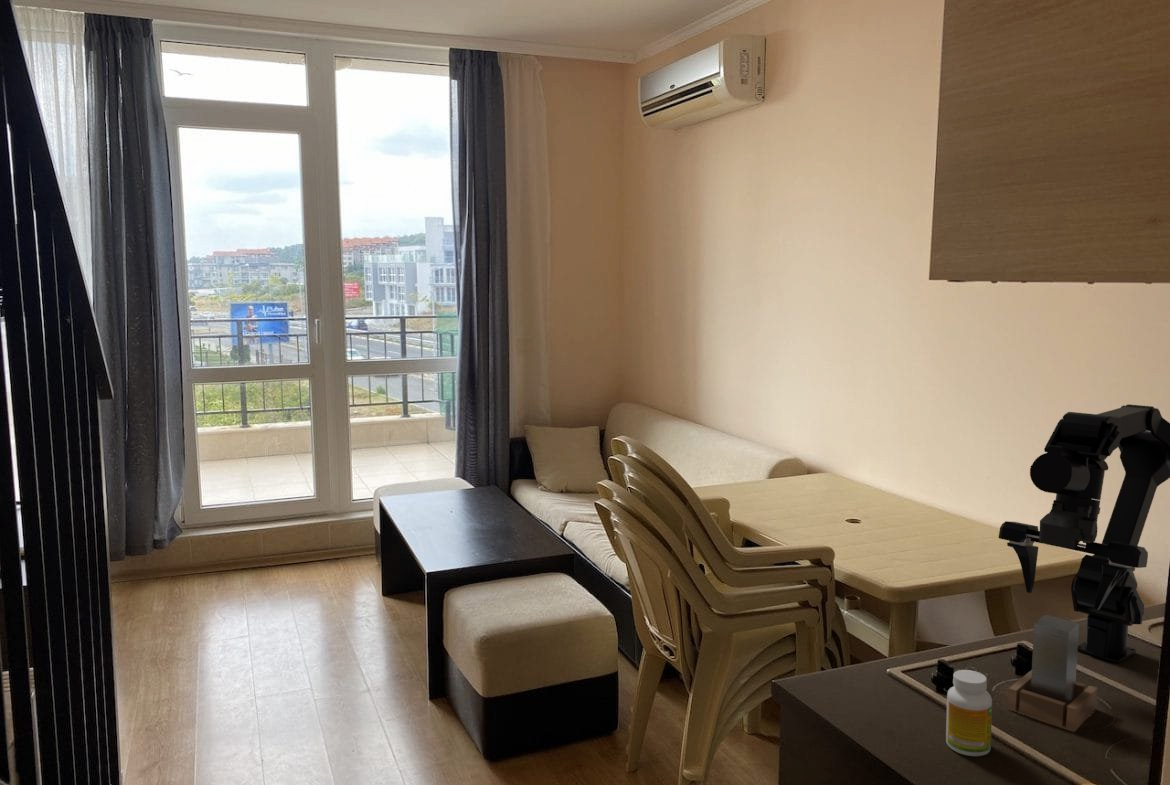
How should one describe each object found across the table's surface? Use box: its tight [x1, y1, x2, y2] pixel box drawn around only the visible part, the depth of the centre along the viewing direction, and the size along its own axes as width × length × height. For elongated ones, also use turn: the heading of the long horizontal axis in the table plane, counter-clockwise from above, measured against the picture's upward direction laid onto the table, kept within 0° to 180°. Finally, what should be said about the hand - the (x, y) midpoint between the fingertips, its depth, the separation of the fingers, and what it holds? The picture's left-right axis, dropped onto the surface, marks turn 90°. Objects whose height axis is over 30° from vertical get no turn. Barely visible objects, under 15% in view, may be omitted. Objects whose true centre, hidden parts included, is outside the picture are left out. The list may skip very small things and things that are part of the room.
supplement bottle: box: [945, 669, 993, 757], centre depth 114 cm, size 5×5×10 cm
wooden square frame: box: [1007, 669, 1098, 733], centre depth 123 cm, size 9×9×4 cm
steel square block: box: [1031, 614, 1080, 717], centre depth 122 cm, size 4×4×12 cm
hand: (1062, 601), depth 129 cm, fingers open, 9 cm apart
